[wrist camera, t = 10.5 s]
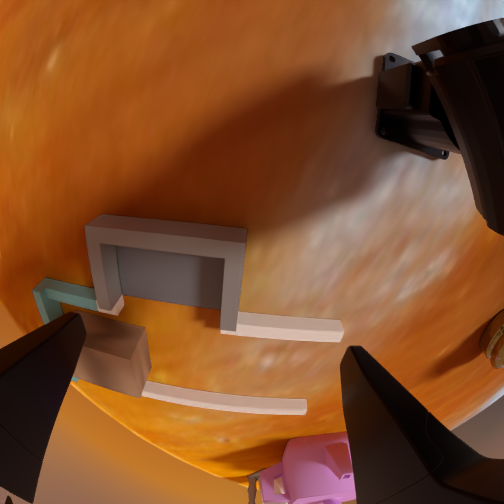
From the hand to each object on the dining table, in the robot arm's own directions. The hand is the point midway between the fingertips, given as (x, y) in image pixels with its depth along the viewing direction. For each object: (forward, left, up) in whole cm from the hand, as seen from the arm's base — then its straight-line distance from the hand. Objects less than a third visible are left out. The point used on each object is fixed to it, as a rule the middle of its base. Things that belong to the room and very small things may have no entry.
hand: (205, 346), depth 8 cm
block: (+12, +14, -12) cm, 22 cm away
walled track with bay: (+5, +11, -12) cm, 17 cm away
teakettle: (-18, +36, -12) cm, 42 cm away
